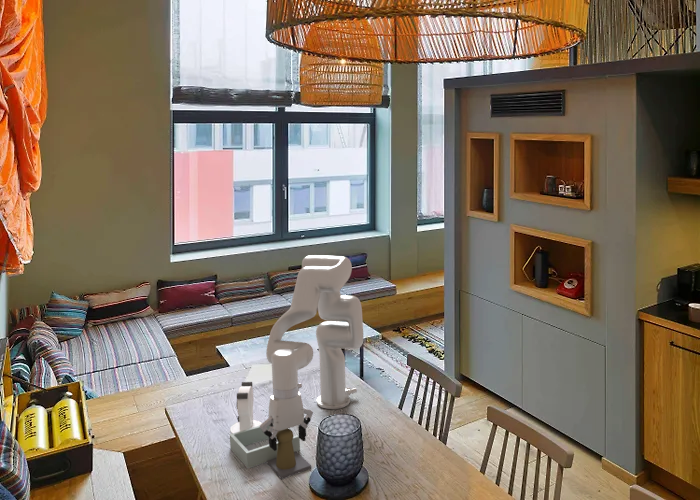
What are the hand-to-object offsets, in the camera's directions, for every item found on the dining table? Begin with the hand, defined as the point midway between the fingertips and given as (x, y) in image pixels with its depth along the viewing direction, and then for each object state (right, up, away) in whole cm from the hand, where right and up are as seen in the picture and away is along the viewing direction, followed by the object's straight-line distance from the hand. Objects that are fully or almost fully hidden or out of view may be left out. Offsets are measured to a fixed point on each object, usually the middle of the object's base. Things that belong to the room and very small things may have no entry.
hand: (288, 444), depth 176 cm
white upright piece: (-17, -3, +26) cm, 31 cm away
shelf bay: (-9, -6, +11) cm, 15 cm away
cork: (-1, -7, +1) cm, 7 cm away
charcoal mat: (0, -7, +1) cm, 7 cm away
